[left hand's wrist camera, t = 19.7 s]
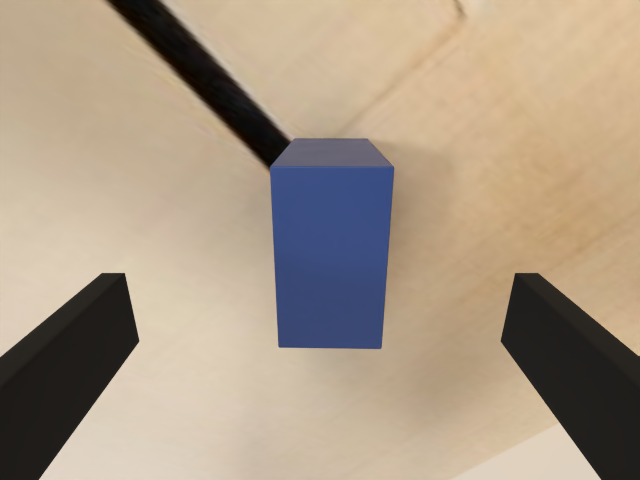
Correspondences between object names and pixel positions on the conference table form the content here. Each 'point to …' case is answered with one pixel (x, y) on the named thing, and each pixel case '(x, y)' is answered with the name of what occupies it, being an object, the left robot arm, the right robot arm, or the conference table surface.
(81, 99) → the conference table surface
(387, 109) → the conference table surface
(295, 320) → the brick
